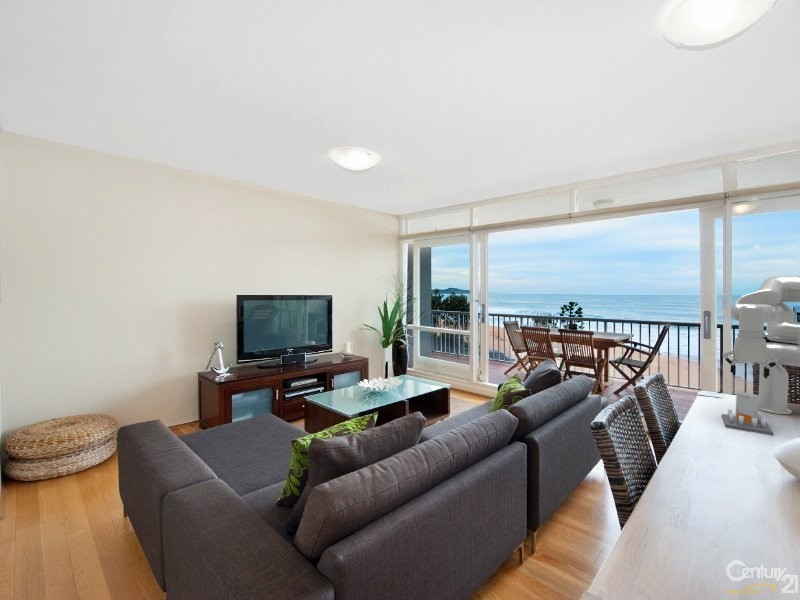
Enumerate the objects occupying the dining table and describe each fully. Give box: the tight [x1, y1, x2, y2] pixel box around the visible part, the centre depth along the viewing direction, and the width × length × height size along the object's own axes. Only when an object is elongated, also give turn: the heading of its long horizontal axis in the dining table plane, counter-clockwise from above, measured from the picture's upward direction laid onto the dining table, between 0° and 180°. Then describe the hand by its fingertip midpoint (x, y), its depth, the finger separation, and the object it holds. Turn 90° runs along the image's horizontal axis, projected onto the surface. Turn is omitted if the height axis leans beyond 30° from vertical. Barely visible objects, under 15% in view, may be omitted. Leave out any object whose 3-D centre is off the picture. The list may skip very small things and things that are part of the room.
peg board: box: [721, 409, 774, 436], centre depth 155 cm, size 16×14×5 cm
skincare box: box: [734, 391, 759, 425], centre depth 155 cm, size 6×4×12 cm
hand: (749, 376), depth 155 cm, fingers open, 9 cm apart
